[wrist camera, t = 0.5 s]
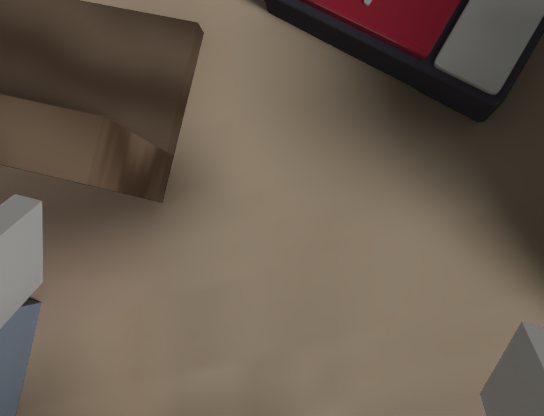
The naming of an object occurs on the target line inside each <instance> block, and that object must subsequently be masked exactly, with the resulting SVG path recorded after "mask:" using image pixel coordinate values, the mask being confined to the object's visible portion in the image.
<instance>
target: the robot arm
mask: <svg viewBox="0 0 544 416" xmlns="http://www.w3.org/2000/svg"><path fill="white" fill-rule="evenodd" d="M42 283H43V229H42V201H41V200H37V199H33V198H29V197H25V196H21V195H17V194H14V195H13V196H11V197H10V198H9V199H7V200H6V201H5V202H3V203H2V204H0V329H1V328H2V326H3V325H4V324H5V323H6V322H7V321H8V320H9V319H10V318H11V317H12V316H13V314H14V313H15V312H16V311H17V310H18V309H19V308H20V307H21V306H22V305H23V303H24V302H25V301H26V300H27V299H28V298H29V297H30V296H31V295H32V294H33V292H34V291H35V290H36V289H37V288H38V287H39V286H40V285H41V284H42ZM480 395H481V398H482V402H483V405H484V408H485V412H486V415H487V416H544V327H541V326H537V325H533V324H529V323H525V322H521V324H520V326H519V327H518V329H517V331H516V332H515V334H514V336H513V338H512V339H511V341H510V343H509V345H508V346H507V348H506V350H505V351H504V353H503V355H502V357H501V358H500V360H499V362H498V363H497V365H496V367H495V369H494V370H493V372H492V374H491V376H490V377H489V379H488V381H487V382H486V384H485V386H484V388H483V389H482V391H481V393H480Z"/></svg>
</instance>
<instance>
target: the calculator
mask: <svg viewBox="0 0 544 416" xmlns="http://www.w3.org/2000/svg"><path fill="white" fill-rule="evenodd" d="M265 3H266V6H267V9H268V11H269V12H270V13H271V14H273V15H275V16H276V17H278V18H280V19H282V20H284V21H286V22H288V23H290V24H292V25H294V26H296V27H297V28H299V29H301V30H303V31H305V32H307V33H309V34H311V35H313V36H315V37H317V38H318V39H320V40H322V41H324V42H326V43H328V44H330V45H332V46H334V47H336V48H338V49H340V50H342V51H344V52H346V53H348V54H350V55H352V56H354V57H356V58H358V59H360V60H362V61H364V62H366V63H368V64H369V65H371V66H373V67H375V68H377V69H379V70H381V71H383V72H385V73H387V74H389V75H391V76H393V77H395V78H397V79H399V80H401V81H403V82H405V83H407V84H409V85H411V86H413V87H414V88H416V89H417V90H418V91H419V92H421V93H423V94H425V95H427V96H429V97H431V98H432V99H434V100H436V101H438V102H440V103H442V104H444V105H446V106H448V107H450V108H451V109H453V110H455V111H457V112H459V113H461V114H463V115H465V116H467V117H469V118H471V119H473V120H475V121H477V122H483V121H485V120H486V119H487V118H488V117H489V116H490V115H491V114H492V113H493V112H494V111H495V110H496V109H497V108H498V107H499V106H500V105H501V104H502V103H503V101H504V99H505V98H506V96H507V94H508V93H509V91H510V89H511V88H512V86H513V84H514V82H515V81H516V79H517V77H518V75H519V74H520V72H521V70H522V69H523V67H524V65H525V63H526V62H527V60H528V58H529V57H530V55H531V53H532V51H533V50H534V48H535V46H536V45H537V43H538V41H539V39H540V38H541V36H542V34H543V33H544V0H265Z"/></svg>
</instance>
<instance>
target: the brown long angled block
mask: <svg viewBox="0 0 544 416" xmlns="http://www.w3.org/2000/svg"><path fill="white" fill-rule="evenodd" d="M203 34H204V33H203V31H202V29H201V27H200V26H199V24H198V23H197V22H191V21H186V20H181V19H176V18H170V17H165V16H160V15H154V14H149V13H144V12H138V11H133V10H128V9H122V8H117V7H112V6H106V5H101V4H96V3H90V2H85V1H80V0H0V165H4V166H9V167H13V168H17V169H21V170H26V171H30V172H34V173H39V174H43V175H47V176H51V177H56V178H60V179H64V180H68V181H73V182H77V183H81V184H85V185H90V186H94V187H98V188H102V189H107V190H111V191H115V192H119V193H124V194H128V195H132V196H137V197H141V198H145V199H149V200H154V201H158V202H163V198H164V194H165V190H166V185H167V181H168V177H169V173H170V169H171V165H172V161H173V157H174V153H175V149H176V144H177V140H178V136H179V132H180V128H181V124H182V120H183V116H184V112H185V108H186V103H187V99H188V95H189V91H190V87H191V83H192V79H193V75H194V71H195V67H196V62H197V58H198V54H199V50H200V46H201V42H202V38H203Z"/></svg>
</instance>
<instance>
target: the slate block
mask: <svg viewBox="0 0 544 416" xmlns="http://www.w3.org/2000/svg"><path fill="white" fill-rule="evenodd" d="M41 303H42V302H38V301H34V300H30V299H27V300H26V301H25V302H24V303H23V305H22V306H21V307H20V308H19V309H18V310H17V311H16V312H15V313H14V314H13V316H12V317H11V318H10V319H9V320H8V321H7V322H6V323H5V324H4V325H3V326H2V328H1V329H0V416H16V412H17V408H18V403H19V399H20V395H21V390H22V386H23V382H24V377H25V373H26V368H27V364H28V360H29V355H30V351H31V347H32V342H33V338H34V333H35V329H36V325H37V320H38V316H39V312H40V307H41Z"/></svg>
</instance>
